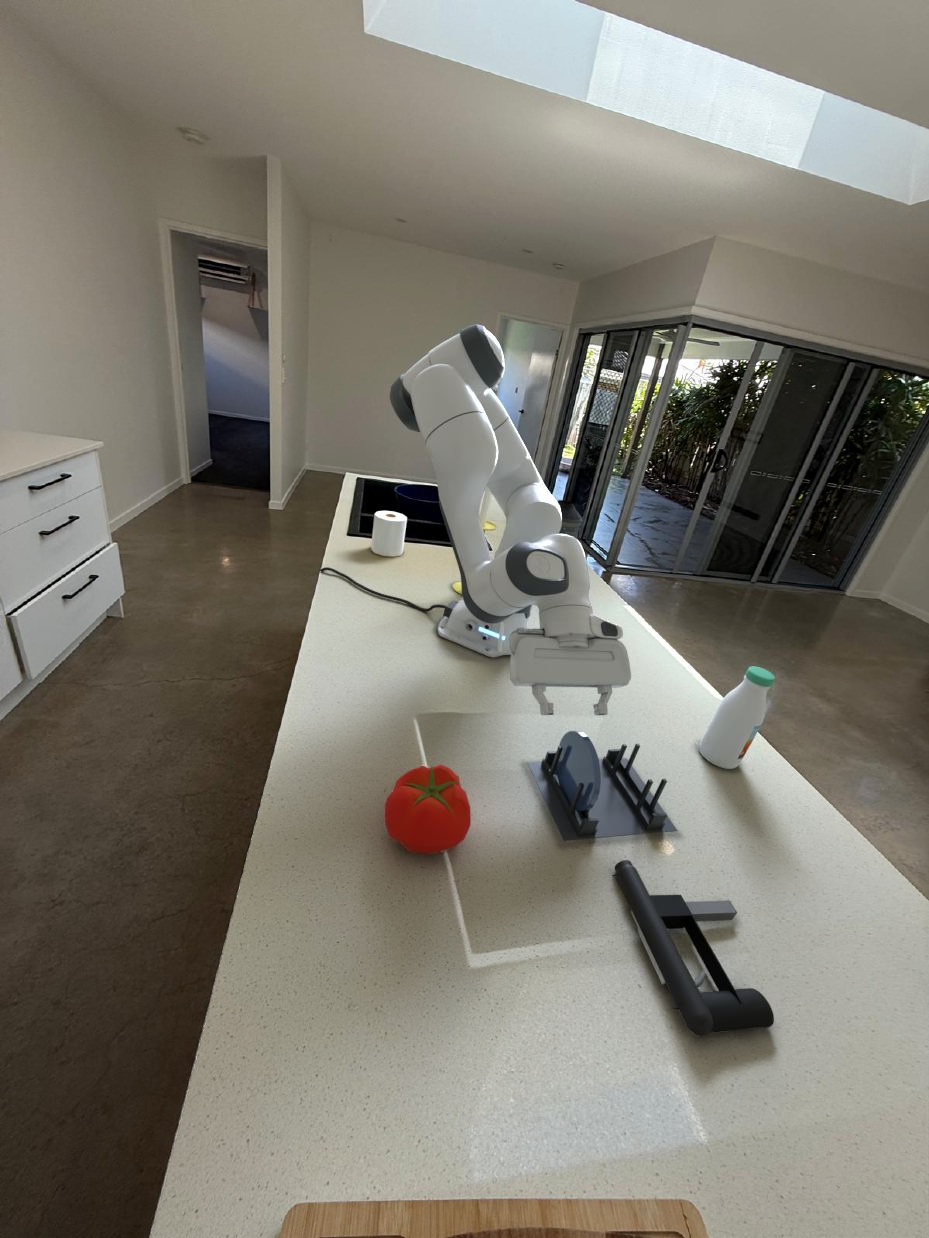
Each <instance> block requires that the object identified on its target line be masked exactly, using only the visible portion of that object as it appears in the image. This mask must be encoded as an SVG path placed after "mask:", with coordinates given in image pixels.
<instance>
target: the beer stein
mask: <svg viewBox="0 0 929 1238" xmlns="http://www.w3.org/2000/svg"><path fill="white" fill-rule="evenodd" d="M556 501H557V502H558V504H559V506H560V510H561V515H562V525H561V529H560V532H559V534H566V535H569V536H572V537H574V538H576V539H577V540H578V534H579V532H578V531H579V528H580V526H581V525H582V523H583V518H582V516H581V515H580V513H579V512H578V511H577V509H576V508H575V506H574V503H573V502H572V501H569V500H565V499H558V500H556Z"/></svg>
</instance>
